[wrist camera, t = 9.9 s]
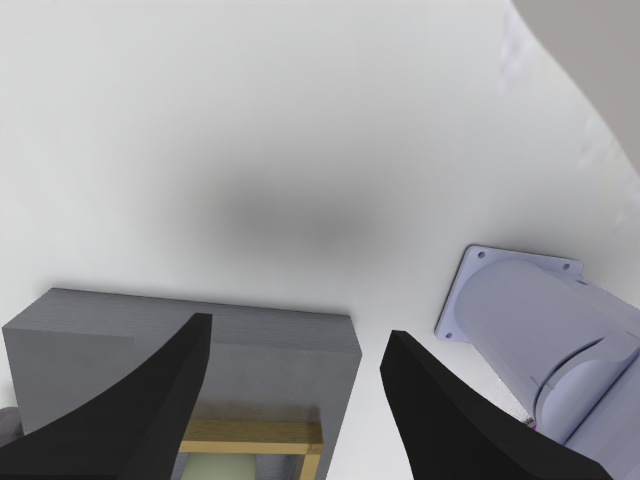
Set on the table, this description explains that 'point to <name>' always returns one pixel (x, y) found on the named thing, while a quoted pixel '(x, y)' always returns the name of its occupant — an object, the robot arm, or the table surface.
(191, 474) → the spout can
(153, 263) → the table surface
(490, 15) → the table surface
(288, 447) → the grey panel with frame
